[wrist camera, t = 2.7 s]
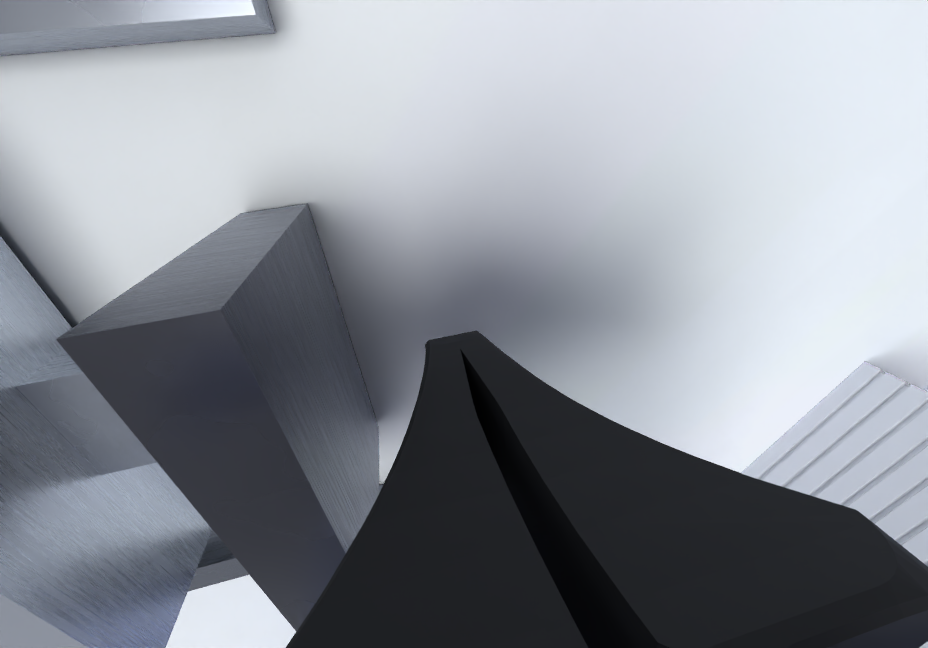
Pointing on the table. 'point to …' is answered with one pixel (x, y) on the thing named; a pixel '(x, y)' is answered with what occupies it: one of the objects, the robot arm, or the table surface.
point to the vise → (130, 23)
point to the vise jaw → (179, 438)
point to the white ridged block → (862, 454)
